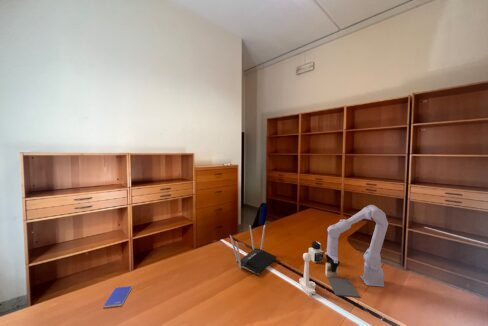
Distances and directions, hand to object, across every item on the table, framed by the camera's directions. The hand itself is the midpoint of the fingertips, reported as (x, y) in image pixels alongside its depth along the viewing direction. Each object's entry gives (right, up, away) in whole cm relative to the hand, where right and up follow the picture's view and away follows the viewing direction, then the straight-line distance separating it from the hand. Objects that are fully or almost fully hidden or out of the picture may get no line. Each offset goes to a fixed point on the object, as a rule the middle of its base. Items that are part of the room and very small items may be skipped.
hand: (331, 268), depth 120 cm
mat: (+2, -5, -10) cm, 11 cm away
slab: (0, -5, 0) cm, 5 cm away
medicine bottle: (-3, -4, +18) cm, 18 cm away
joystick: (-17, -5, -11) cm, 21 cm away
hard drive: (-117, -5, -19) cm, 118 cm away
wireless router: (-46, -3, +14) cm, 49 cm away
